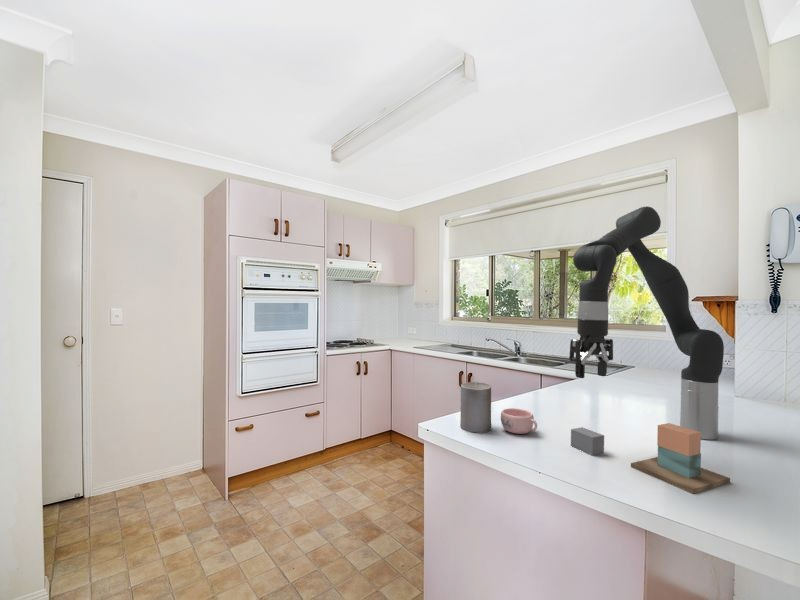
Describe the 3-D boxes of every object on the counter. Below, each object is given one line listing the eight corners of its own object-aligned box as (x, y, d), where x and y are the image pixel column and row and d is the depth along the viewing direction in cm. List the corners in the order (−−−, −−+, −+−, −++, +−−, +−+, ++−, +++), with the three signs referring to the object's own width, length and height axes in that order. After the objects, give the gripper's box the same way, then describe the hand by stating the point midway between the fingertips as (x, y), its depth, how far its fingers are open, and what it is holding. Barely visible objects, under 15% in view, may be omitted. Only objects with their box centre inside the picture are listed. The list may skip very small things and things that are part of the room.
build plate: (666, 458, 100) (666, 435, 100) (729, 482, 87) (730, 456, 87) (630, 466, 94) (631, 442, 94) (693, 493, 81) (693, 466, 81)
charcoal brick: (582, 444, 109) (582, 427, 109) (603, 453, 103) (604, 435, 103) (570, 446, 107) (571, 429, 107) (592, 456, 101) (592, 437, 101)
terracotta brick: (668, 442, 95) (669, 423, 95) (700, 453, 88) (700, 432, 88) (657, 445, 93) (657, 425, 93) (688, 456, 86) (689, 434, 86)
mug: (493, 429, 120) (494, 411, 120) (512, 423, 126) (512, 406, 126) (527, 441, 110) (527, 421, 110) (545, 434, 116) (546, 415, 116)
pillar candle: (475, 421, 128) (475, 377, 128) (497, 429, 120) (498, 382, 120) (453, 426, 122) (454, 380, 122) (475, 435, 114) (475, 386, 114)
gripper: (598, 317, 110) (596, 372, 110) (562, 317, 104) (561, 375, 105) (622, 319, 104) (621, 378, 104) (586, 318, 98) (584, 381, 98)
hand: (591, 376), depth 104 cm, fingers open, 8 cm apart
